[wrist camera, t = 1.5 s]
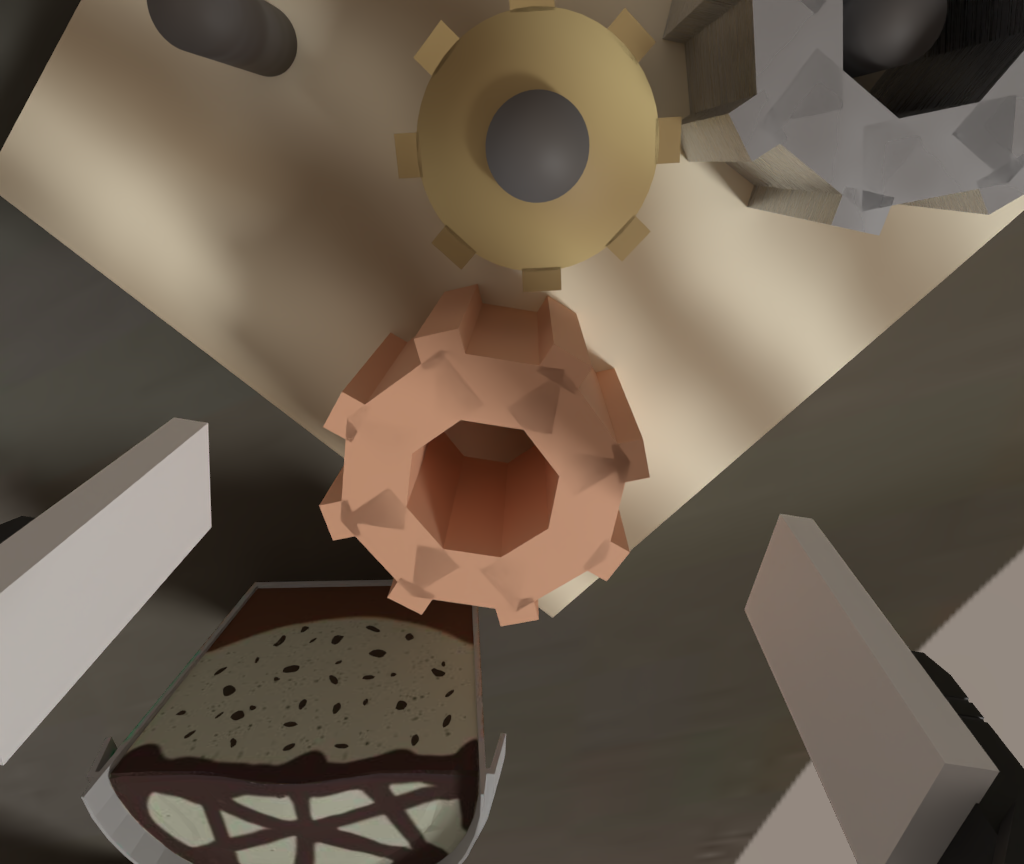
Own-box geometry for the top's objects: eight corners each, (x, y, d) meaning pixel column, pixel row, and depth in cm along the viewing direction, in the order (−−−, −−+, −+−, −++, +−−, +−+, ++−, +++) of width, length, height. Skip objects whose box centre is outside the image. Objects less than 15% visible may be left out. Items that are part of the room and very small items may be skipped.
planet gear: (471, 554, 25) (453, 667, 19) (322, 383, 22) (253, 457, 17) (661, 436, 23) (704, 525, 17) (521, 233, 20) (517, 261, 15)
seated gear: (821, 264, 20) (929, 304, 15) (606, 97, 19) (637, 70, 13) (1043, 2, 18) (1279, -72, 12) (813, -222, 16) (964, -427, 10)
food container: (248, 695, 30) (121, 935, 21) (219, 582, 27) (61, 797, 18) (518, 692, 29) (512, 936, 20) (512, 577, 27) (503, 794, 18)
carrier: (551, 594, 27) (556, 707, 22) (19, 181, 21) (-164, 188, 16) (1090, 119, 20) (1311, 102, 14) (504, -697, 14) (487, -1260, 9)
